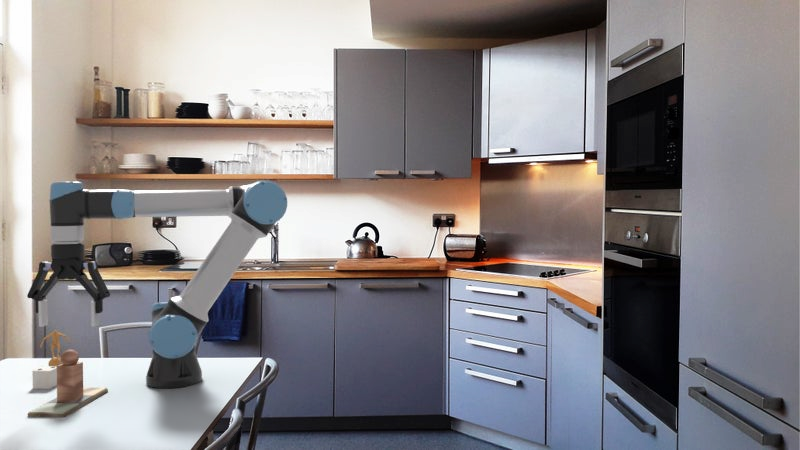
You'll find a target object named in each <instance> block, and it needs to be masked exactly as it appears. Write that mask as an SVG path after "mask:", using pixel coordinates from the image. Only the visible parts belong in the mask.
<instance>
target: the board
mask: <svg viewBox="0 0 800 450" xmlns="http://www.w3.org/2000/svg"><path fill="white" fill-rule="evenodd" d="M108 392H109V389H108V388H107V387H84V386H83V397H82V398H80V399H78V400H77V401H75V402H57V397H55V398H53V399H51V400H50V401H48V402H46V403H44V404H42V405H39V406H37V407H36V408H34V409H32V410H30V411H29V412H28V413H27V417H28V418H30V417H31V418H34V417H35V418H37V417H38V418H39V417H40V418H41V417H43V418H65V417H68V415H70V414H73V413H74V412H76V411H78V410H79V409H81V408H83V407H85V406H86V405H88V404H90V403H91V402H93V401H95V400H97V399H98V398H100V397H101V396H103V395H105V394H107V393H108Z"/></svg>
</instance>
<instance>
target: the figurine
mask: <svg viewBox="0 0 800 450" xmlns="http://www.w3.org/2000/svg"><path fill="white" fill-rule="evenodd" d="M60 337H64V338H65V339H66V341H67V342H68V345H69V346H71V340H70V339H69V338H68V336H67V335H66V334H63V333H61V332H58V331H57V330H56V329H55V330H53V332H51V333H50V334H48V335H46V336H45V337H43V339H42V341H41V343H40V346H39V347H40V349H41V348H43V347H42V346H43V344H44V342H45V340H47V339H48V338H51V340H52V342H50V343H49V344H50V350H51V358H50V360H49V361H48V366H58V365H60V364H62V362H61V356H60V351H61V350H60V349H61V341H59V338H60ZM55 346H56V349H57V353H56V356H55V353H54V352H55V351H54V349H55Z"/></svg>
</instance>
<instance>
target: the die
mask: <svg viewBox="0 0 800 450" xmlns="http://www.w3.org/2000/svg"><path fill="white" fill-rule="evenodd" d="M31 372H32V389H46V390H47V389H49V390H50V389H52V388H55V387H57V366H49V365H47V366H45V365H44V366H43V365H42V366H41V367H38V368H36V369H34V370H32V371H31Z"/></svg>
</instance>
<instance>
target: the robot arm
mask: <svg viewBox="0 0 800 450" xmlns="http://www.w3.org/2000/svg"><path fill="white" fill-rule="evenodd" d="M49 189H50V190H49V193H50V194H49V200H48V201H49V213H50V215H49V216H50V218H49V219H50V242H51V243H52V244H51V245H50V257H51V262H49V261H48V260H47V261H40V262H39V263H38V271H37V274H36V276H35V277H34V279H33V282H32V284H31V286H30V288H29V291H28V292H27V295H26V297H27V298H28V299H32V300H34V302H35V303H34V304H35V313H36V314H38V327H40V328H43V327H45V326H46V327H47V326H48V325H49V309H48V308H49V307H48V301H49V300H48V299H46V296H47V295H48V294H49V293H50V292H51V291H52V289H54V287H55V286H56V284H57V283H58V282H59V281H60V280H63V281H64V280H71V281H72V280H76V281H77V282H79V284H80V285H81V286H82V287H83V288H84V290H85V291H86V292H87V294H89V295H90V297H91V298H92V299H93V300H91V301H90V313H91V314H90V319H91V320H90V323H91V325H90V326H91V328H96V327H98V326H100V324H101V320H100V318H101V315H100V313H101V314H102V313H103V309H104V308H103V307H104V306H103V304H104V303H103V301H104V299H107V298H109V297H110V296H111V293H110V291H109V288H108V287H107V285H106V283H105V281H104V280H103V279H104V278H103V277H102V276H101V273H100V271H99V270H98V263H97V261H95V260H93V261H87V262H86V261H85V244H84V243H83V241H85V232H84V231H85V230H84V229H85V227H84V224H85V223H84V220H86V219H87V220H93V219H94V220H95V219H96V220H100V219H101V220H110V219H111V220H115V219H116V220H117V219H118V220H123V219H132V218H164V217H165V218H167V217H169V218H170V217H172V218H173V217H174V218H176V217H179V218H180V217H223V216H224V217H225V216H227V217H228V218H230V219H231V221H230V223H229V225H228V226H227V227H226V229H225V230H224V231H223V233H222V235H221V236H220V237H219V239H218V240H217V242H216V243H215V244H214V246H213V248H211V250H210V251H209V253H208V255H207V256H206V257H205V258H204V260H203V261H202V263H201V264H200V266H199V267H198V269H197V270H196V272H194V274H193V276H192V278H191V279H190V280H189V282H188V283H187V284H186V286H185V287H184V288H183V289H182V291H181V293H180V294H179V295H176V296H173V297H170V299H169V300H168V301H164V302H163V301H162V302H154V303H153V304H152V306H151V312H150V313H151V327H150V328H149V331H148V332H149V333H148V342H149V344H150V346H151V348H152V357H151V361H150V363H149V366H148V369H147V373H146V376H145V379H146V380H145V382H146V383H145V384H146V386H148V387H151V388H157V389H173V388H183V387H187V386H191V385H195V384H197V383H198V384H199V382H201V381H202V379H203V373H202V372H203V371H202V367H201V365H200V363H199V360H198V356H197V354H196V343H197V341H198V337H199V336H200V334H201V333H202V331H203V329H204V328H205V327H206V326H207V323H209V320H210V319H209V315H208V314H209V311H210V309H211V308H212V307H213V305H214V303H215V302H216V300H218V298H219V296H220V295H221V294H222V292H223V291H224V289H225V288H226V286H227V285H228V283H230V281H231V279H232V277H233V276H234V274H235V273H236V271H238V269H239V268H240V266H241V264H242V263H243V262H244V260H245V259H246V258H247V255H248V254H249V252H250V251H252V249H253V247H254V245H255V244H256V242H257V241H258V240H259V239H262V238H266V237H267V236H268V235H269V234H270V232H271V230H272V229H273V228H274V227H275V225H276V223H277V222H278V221H280V220H281V219H283V217H284V215H285V214H286V212H287V208H288V197H287V195H286V192H285V191H284V189H283V188H282V187H281V186H280V185H278V184H277V183H275V182H273V181H270V180H267V179H263V180H258V181H255V182H252V183H250V184H249V183H248V184H247V185H246V184H245V185H237V186H236V185H234V186H233V185H231V186H229V187H228V188H227V189H180V190H179V189H177V190H176V189H174V190H173V189H172V190H171V189H170V190H168V189H165V190H164V189H163V190H161V189H160V190H159V189H157V190H155V189H154V190H153V189H152V190H130V189H120V188H117V189H85V188H84V185H83V183H82V182H81V181H54V182H53V183H51V184H50V188H49ZM85 269H86V270H87V272H88V274H89V276H90V278H91V280H92V281H91V280H90V279H89V277H88V275H87V274H86V273H85V271H84V270H85ZM50 270H52V271H53V272H52V274H51V275H50V276H49V279H48V280H47V281H46V282H45V280H46V279H47V276H48V273H49V271H50ZM44 282H45V284H44ZM43 284H44V285H43Z"/></svg>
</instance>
